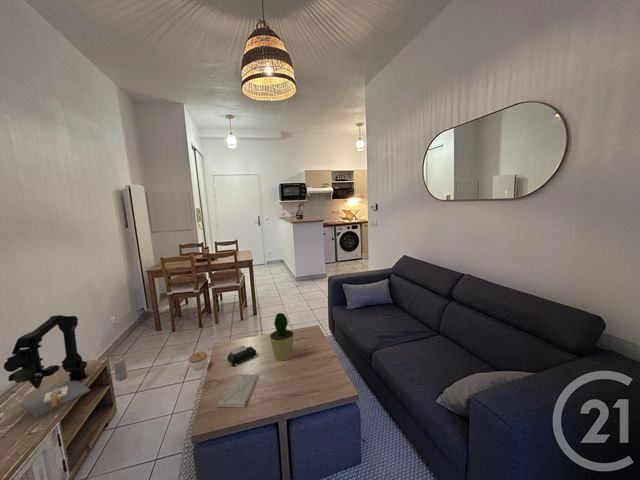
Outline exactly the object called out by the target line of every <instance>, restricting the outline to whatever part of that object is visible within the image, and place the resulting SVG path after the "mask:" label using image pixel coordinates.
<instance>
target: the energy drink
mask: <svg viewBox="0 0 640 480" xmlns="http://www.w3.org/2000/svg"><path fill="white" fill-rule="evenodd" d="M113 368H114V374H115V380H116V382H123V381H124V380H126V379H127V378H128V372H127V366H126V360H125V358H124V357H119V358H116V359H114V360H113Z"/></svg>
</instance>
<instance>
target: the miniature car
mask: <svg viewBox="0 0 640 480" xmlns="http://www.w3.org/2000/svg"><path fill="white" fill-rule="evenodd" d="M257 355H258V353H257V350H256V349H255V348H254V347H253V346H247V347H246V346H244V345H241V346H238V347H235V348H232V349H231V350H230V352H229V354H228V355H227V357H226V360H227V362H228V364H229V365H231V366H232V365H233V366H234V365H235V364H237V363H238V364H239V363H241V362H244V361H246V360H248V359H252V358H253V357H254V356H257ZM251 357H252V358H251ZM253 359H254V358H253Z"/></svg>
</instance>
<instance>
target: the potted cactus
mask: <svg viewBox="0 0 640 480" xmlns="http://www.w3.org/2000/svg"><path fill="white" fill-rule="evenodd" d="M274 317H275V318H274V322H273V326H274V327H275V328H274V329H275V330H274V331H273V332H271V333H270V335H269V339H270V343H271V346H272V347H271V348H272V351H273V356H274V358H276V359H278V360H277V361H279V360H284V359H287V358H289V357H290V356H291V355H293V344H294V332H293V331H292V330H290V329H287V328H288V326H289V320H288V315H286V314H285V312H283V313H282V312H278V313H277V314H276V315H275V316H274ZM291 357H292V356H291ZM276 359H275V360H276ZM289 359H290V358H289ZM287 360H288V359H287ZM284 361H285V360H284Z"/></svg>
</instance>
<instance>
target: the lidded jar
mask: <svg viewBox="0 0 640 480" xmlns="http://www.w3.org/2000/svg"><path fill="white" fill-rule="evenodd" d="M187 360H188V364H189V367H190V368H191V369H193V370H194V371H201V370H203V369H204V368H205V366H206V364H207V363H208V353H207V352H206V351H197V352H194V353H192V354H191V355H190V356H189V357H188V359H187Z"/></svg>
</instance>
